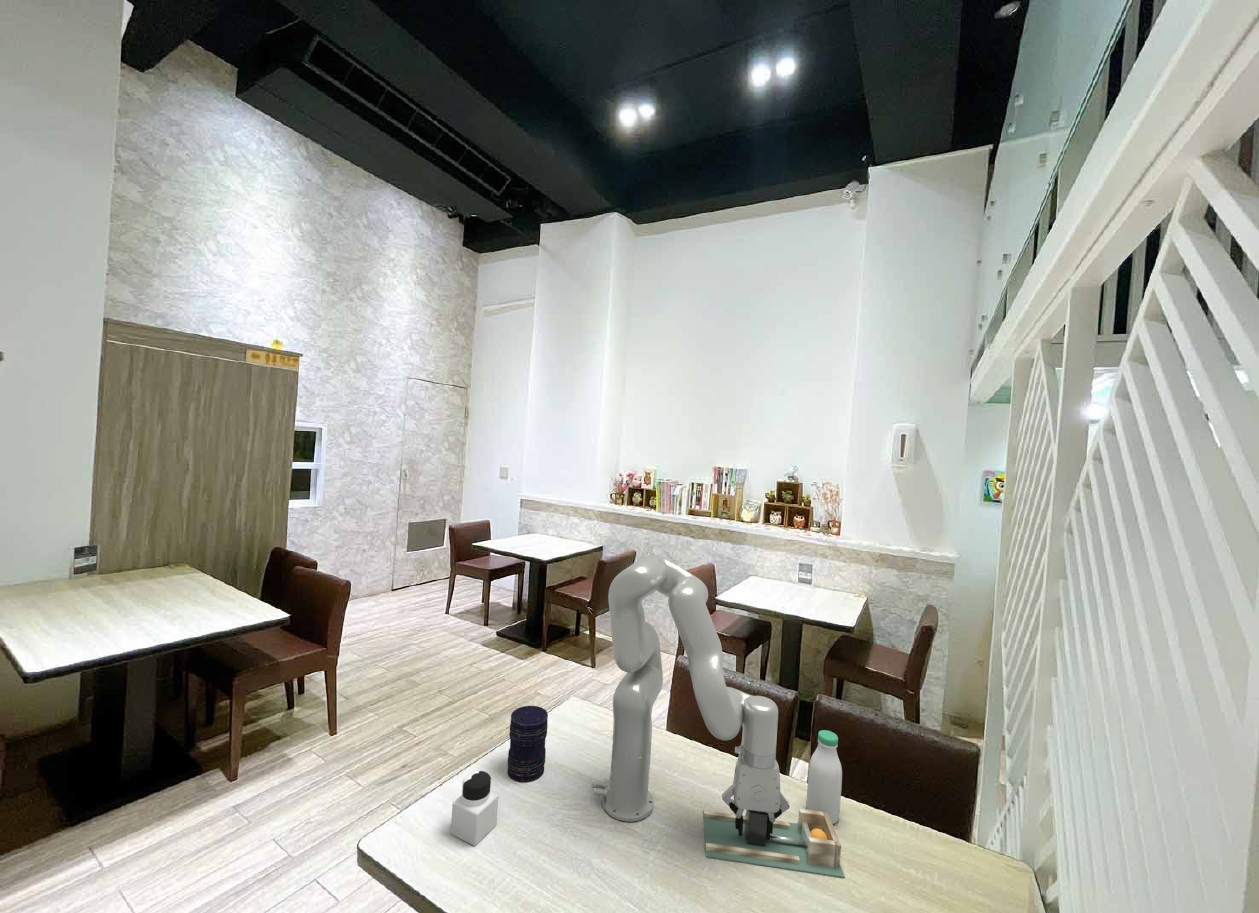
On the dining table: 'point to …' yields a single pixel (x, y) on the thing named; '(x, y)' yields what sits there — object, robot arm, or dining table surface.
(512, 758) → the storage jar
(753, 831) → the kicker
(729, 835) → the mat
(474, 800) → the medicine bottle
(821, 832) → the ball
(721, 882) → the dining table surface
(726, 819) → the rails
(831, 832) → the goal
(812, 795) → the milk bottle
